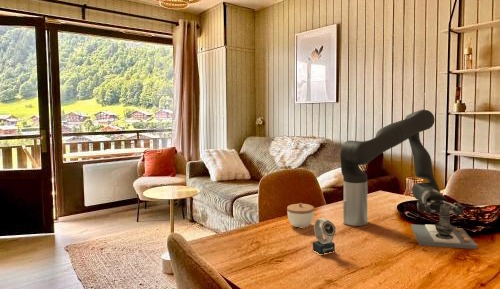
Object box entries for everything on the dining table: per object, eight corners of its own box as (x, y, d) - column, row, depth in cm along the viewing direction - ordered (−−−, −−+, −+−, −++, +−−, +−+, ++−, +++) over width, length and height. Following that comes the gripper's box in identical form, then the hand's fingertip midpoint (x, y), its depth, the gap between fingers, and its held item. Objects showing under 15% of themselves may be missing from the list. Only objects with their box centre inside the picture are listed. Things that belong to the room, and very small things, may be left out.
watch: (324, 258, 111) (323, 224, 110) (309, 249, 118) (309, 217, 117) (338, 254, 113) (338, 221, 112) (323, 246, 121) (323, 214, 120)
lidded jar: (314, 222, 146) (314, 199, 145) (314, 231, 136) (314, 207, 135) (288, 221, 148) (287, 199, 147) (286, 230, 138) (285, 206, 137)
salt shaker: (457, 239, 118) (458, 204, 117) (440, 239, 118) (440, 204, 117) (448, 233, 124) (449, 199, 123) (431, 233, 124) (431, 200, 123)
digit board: (419, 245, 119) (419, 238, 119) (411, 227, 136) (411, 221, 136) (477, 249, 114) (477, 242, 114) (461, 230, 131) (461, 224, 131)
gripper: (413, 190, 138) (421, 201, 123) (454, 191, 134) (467, 203, 119) (413, 209, 139) (420, 222, 123) (454, 211, 135) (467, 224, 119)
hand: (443, 212), depth 121 cm, fingers open, 8 cm apart
